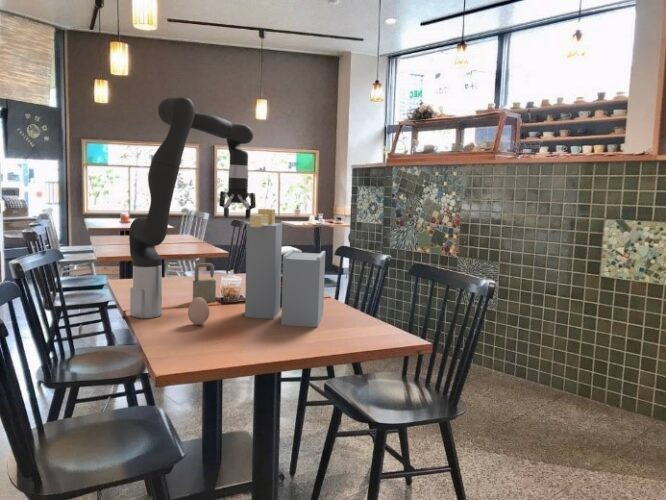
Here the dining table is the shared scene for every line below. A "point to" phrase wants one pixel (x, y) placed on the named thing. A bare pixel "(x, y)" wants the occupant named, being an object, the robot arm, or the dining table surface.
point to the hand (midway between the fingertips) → (237, 218)
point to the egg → (198, 311)
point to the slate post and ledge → (298, 279)
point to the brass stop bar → (263, 218)
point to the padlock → (204, 284)
